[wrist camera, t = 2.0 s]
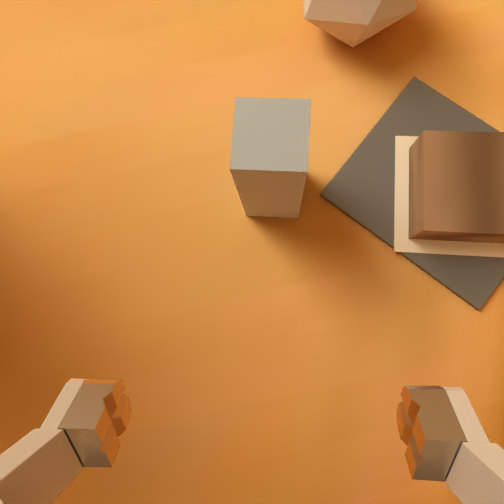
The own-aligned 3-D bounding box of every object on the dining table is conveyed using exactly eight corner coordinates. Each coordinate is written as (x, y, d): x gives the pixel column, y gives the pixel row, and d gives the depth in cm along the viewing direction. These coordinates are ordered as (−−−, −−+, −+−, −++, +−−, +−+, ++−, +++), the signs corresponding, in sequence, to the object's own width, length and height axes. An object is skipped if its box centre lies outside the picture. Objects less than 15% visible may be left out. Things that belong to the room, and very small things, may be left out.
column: (246, 215, 30) (229, 169, 20) (249, 166, 30) (235, 97, 20) (298, 218, 29) (307, 172, 19) (300, 168, 30) (310, 99, 20)
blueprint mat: (318, 197, 29) (318, 196, 29) (414, 76, 30) (416, 73, 30) (478, 315, 27) (481, 315, 27) (577, 181, 28) (581, 179, 28)
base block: (408, 238, 28) (423, 230, 25) (409, 148, 29) (423, 130, 26) (508, 243, 27) (536, 235, 24) (505, 151, 28) (531, 133, 25)
